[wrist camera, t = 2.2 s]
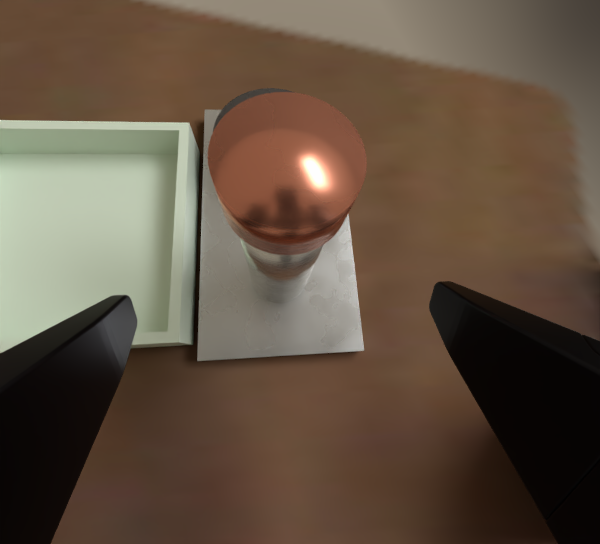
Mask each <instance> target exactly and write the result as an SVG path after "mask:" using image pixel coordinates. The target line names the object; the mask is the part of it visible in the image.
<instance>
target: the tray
mask: <svg viewBox="0 0 600 544" xmlns="http://www.w3.org/2000/svg"><path fill="white" fill-rule="evenodd" d="M199 164H200V152H199V149H198V146H197V143H196V140H195V138H194V135H193V132H192V129H191V126H190V124H189V123H166V122H92V121H18V120H0V353H2V352H4V351H6V350H8V349H10V348H12V347H13V346H15V345H17V344H19V343H21V342H23V341H25V340H27V339H29V338H31V337H33V336H35V335H37V334H39V333H40V332H42V331H44V330H46V329H48V328H50V327H52V326H54V325H56V324H58V323H60V322H62V321H64V320H66V319H67V318H69V317H71V316H73V315H75V314H77V313H79V312H81V311H83V310H85V309H87V308H89V307H91V306H92V305H94V304H96V303H98V302H100V301H102V300H104V299H106V298H108V297H110V296H112V295H128V296H129V297H130V298H131V300H132V303H133V307H134V310H135V313H136V316H137V328H136V332H135V335H134V339H133V342H132V346H131V348H146V347H164V346H181V345H193V341H194V312H195V282H196V253H197V223H198V193H199Z"/></svg>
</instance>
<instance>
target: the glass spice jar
mask: <svg viewBox="0 0 600 544" xmlns="http://www.w3.org/2000/svg"><path fill="white" fill-rule="evenodd" d="M208 166H209V171H210V175H211V178H212V181H213V184H214V187H215V190H216V193H217V196H218V199H219V202H220V204H221V207H222V210H223V213H224V216H225V218H226V220H227V222H228V224H229V225H230V227H231V228H232V230H233V231H234V232H235V233H236V234H237V235H238V236H239V237H240V240H241V244H242V247H243V251H244V255H245V258H246V262H247V266H248V269H249V273H250V277H251V280H252V284H253V287H254V289H255V290H256V292H257V293H258V294H259V295H260V296H261V297H262V298H264V299H265V300H268V301H270V302H274V303H285V302H289V301H291V300H293V299H295V298H296V297H298V296H299V295H300V294H301V292H302V291H303V289H304V288H305V285H306V283H307V281H308V279H309V276H310V274H311V272H312V270H313V267H314V265H315V263H316V261H317V258H318V256H319V254H320V252H321V249H322V247H323V245H324V244H325V243H327V242H328V241H329V240H330V239H331V238H333V237H334V236H335V234H336V233H337V232H338V231H339V230H340V228H341V226H342V224H343V223H344V221H345V219H346V217H347V215H348V213H349V211H350V209H351V207H352V205H353V204H354V202H355V200H356V198H357V196H358V194H359V192H360V190H361V188H362V185H363V183H364V179H365V175H366V167H367V161H366V153H365V148H364V145H363V142H362V139H361V137H360V135H359V134H358V132H357V130H356V129H355V127H354V126H353V124H352V123H351V122H350V121H349V120H348V119H347V118H346V117H345V116H344V115H343V114H342V113H341V112H340V111H339V110H337V109H336V108H334V107H333V106H331V105H329V104H328V103H326V102H324V101H322V100H319V99H317V98H315V97H312V96H308V95H305V94H299V93H292V92H273V93H266V94H262V95H258V96H255V97H252V98H249V99H247V100H245V101H243V102H241V103H239V104H238V105H236V106H235V107H234V108H232V109H231V110H230V111H229V112H228V113H226V114H225V115H224V117H223V118H222V119H221V120H220V121H219V123H218V124H217V126H216V127H215V129H214V131H213V134H212V136H211V139H210V142H209V146H208Z"/></svg>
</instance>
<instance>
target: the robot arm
mask: <svg viewBox="0 0 600 544" xmlns="http://www.w3.org/2000/svg"><path fill="white" fill-rule="evenodd" d="M429 309H430V313H431V315H432V317H433V319H434V322H435V324H436V326H437V328H438V331H439V333H440V335H441V338H442V340H443V342H444V344H445V347H446V349H447V351H448V353H449V355H450V356H451V358H452V360H453V362H454V364H455V365H456V367H457V369H458V371H459V372H460V374H461V376H462V378H463V379H464V381H465V383H466V384H467V386H468V388H469V390H470V391H471V393H472V395H473V397H474V398H475V400H476V402H477V404H478V405H479V407H480V409H481V410H482V412H483V414H484V416H485V417H486V419H487V421H488V423H489V424H490V426H491V428H492V430H493V431H494V433H495V435H496V437H497V438H498V440H499V442H500V443H501V445H502V447H503V449H504V450H505V452H506V454H507V456H508V457H509V459H510V461H511V463H512V464H513V466H514V468H515V470H516V471H517V473H518V475H519V476H520V478H521V480H522V482H523V483H524V485H525V487H526V489H527V490H528V492H529V494H530V496H531V497H532V499H533V501H534V503H535V504H536V506H537V508H538V509H539V511H540V513H541V515H542V516H543V518H544V519H545V520H546V524H547V526H548V527H549V529H550V531H551V532H552V534H553V536H554V538H555V539H556V541H557V543H558V544H600V341H598V340H596V339H593V338H591V337H588V336H586V335H581V334H580V333H578V332H576V331H573V330H571V329H568V328H566V327H563V326H561V325H558V324H556V323H553V322H551V321H548V320H546V319H543V318H541V317H538V316H536V315H533V314H531V313H528V312H526V311H523V310H521V309H518V308H516V307H513V306H511V305H508V304H506V303H503V302H501V301H498V300H496V299H493V298H491V297H488V296H486V295H483V294H481V293H478V292H476V291H473V290H471V289H468V288H466V287H463V286H461V285H458V284H456V283H453V282H450V281H445V282H437V283H436V284H435V286H434V289H433V293H432V296H431V300H430V304H429ZM136 328H137V316H136V313H135V310H134V307H133V303H132V300H131V298H130V297H129V296H128V295H112V296H110V297H108V298H106V299H104V300H102V301H100V302H98V303H96V304H94V305H92V306H91V307H89V308H87V309H85V310H83V311H81V312H79V313H77V314H75V315H73V316H71V317H69V318H67V319H66V320H64V321H62V322H60V323H58V324H56V325H54V326H52V327H50V328H48V329H46V330H44V331H42V332H40V333H39V334H37V335H35V336H33V337H31V338H29V339H27V340H25V341H23V342H21V343H19V344H17V345H15V346H13V347H12V348H10V349H8V350H6V351H4V352H2V353H0V544H51V541H52V539H53V537H54V534H55V532H56V530H57V527H58V525H59V523H60V520H61V518H62V516H63V513H64V511H65V509H66V506H67V504H68V502H69V499H70V497H71V495H72V492H73V490H74V488H75V485H76V483H77V481H78V478H79V476H80V474H81V471H82V469H83V467H84V464H85V462H86V460H87V457H88V455H89V453H90V450H91V448H92V446H93V443H94V441H95V439H96V436H97V434H98V432H99V429H100V427H101V425H102V422H103V420H104V417H105V415H106V413H107V410H108V408H109V406H110V403H111V401H112V399H113V396H114V394H115V392H116V389H117V387H118V385H119V382H120V380H121V377H122V375H123V372H124V369H125V366H126V363H127V359H128V356H129V352H130V349H131V346H132V342H133V339H134V335H135V332H136Z"/></svg>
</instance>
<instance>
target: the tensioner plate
mask: <svg viewBox="0 0 600 544" xmlns="http://www.w3.org/2000/svg"><path fill="white" fill-rule="evenodd" d="M273 92H291V91H288V90H283V89H274V88H268V89H258V90H253V91H250V92H247V93H244V94H242V95H240V96H238V97H236V98H235V99H233V100H232V101H230V102H229V103H228V104H227V105H226V106H225V107H224V108H223V109H222V110H205V120H204V154H203V187H202V221H201V254H200V287H199V321H198V354H197V361H209V360H225V359H241V358H257V357H273V356H289V355H305V354H321V353H337V352H353V351H364V346H363V337H362V328H361V320H360V311H359V302H358V293H357V285H356V276H355V267H354V259H353V250H352V241H351V232H350V224H349V215H347V217H346V219H345V221H344V223H343V224H342V226H341V228H340V230H339V231H338V232H337V233H336V234H335V236H334V237H333V238H331V239H330V240H329V241H328V242H327V243H325V244H324V245H323V247H322V249H321V252H320V254H319V256H318V258H317V261H316V263H315V265H314V267H313V270H312V272H311V274H310V276H309V279H308V281H307V283H306V285H305V288H304V289H303V291H302V292H301V294H300V295H299V296H298V297H296V298H295V299H293V300H291V301H289V302H285V303H274V302H270V301H268V300H265V299H264V298H262V297H261V296H260V295H259V294H258V293H257V292H256V290H255V289H254V287H253V284H252V280H251V277H250V273H249V269H248V266H247V262H246V258H245V255H244V251H243V247H242V244H241V240H240V237H239V236H238V235H237V234H236V233H235V232H234V231H233V230H232V228H231V227H230V225H229V224H228V222H227V220H226V218H225V216H224V213H223V210H222V207H221V204H220V202H219V199H218V196H217V193H216V190H215V187H214V184H213V181H212V178H211V175H210V171H209V166H208V146H209V142H210V139H211V136H212V134H213V131H214V129H215V127H216V126H217V124H218V123H219V121H220V120H221V119H222V118H223V117H224V115H225V114H226V113H228V112H229V111H230V110H231V109H232V108H234V107H235V106H236V105H238V104H239V103H241V102H243V101H245V100H247V99H249V98H252V97H255V96H258V95H262V94H266V93H273ZM292 93H294V92H292Z"/></svg>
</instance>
